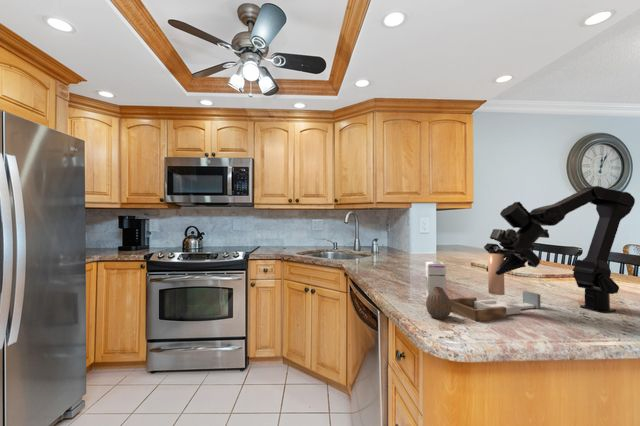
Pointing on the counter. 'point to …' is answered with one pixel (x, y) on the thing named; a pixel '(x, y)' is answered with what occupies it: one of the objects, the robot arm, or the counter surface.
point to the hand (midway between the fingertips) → (491, 272)
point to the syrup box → (435, 276)
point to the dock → (476, 310)
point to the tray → (528, 302)
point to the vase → (438, 303)
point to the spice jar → (493, 279)
